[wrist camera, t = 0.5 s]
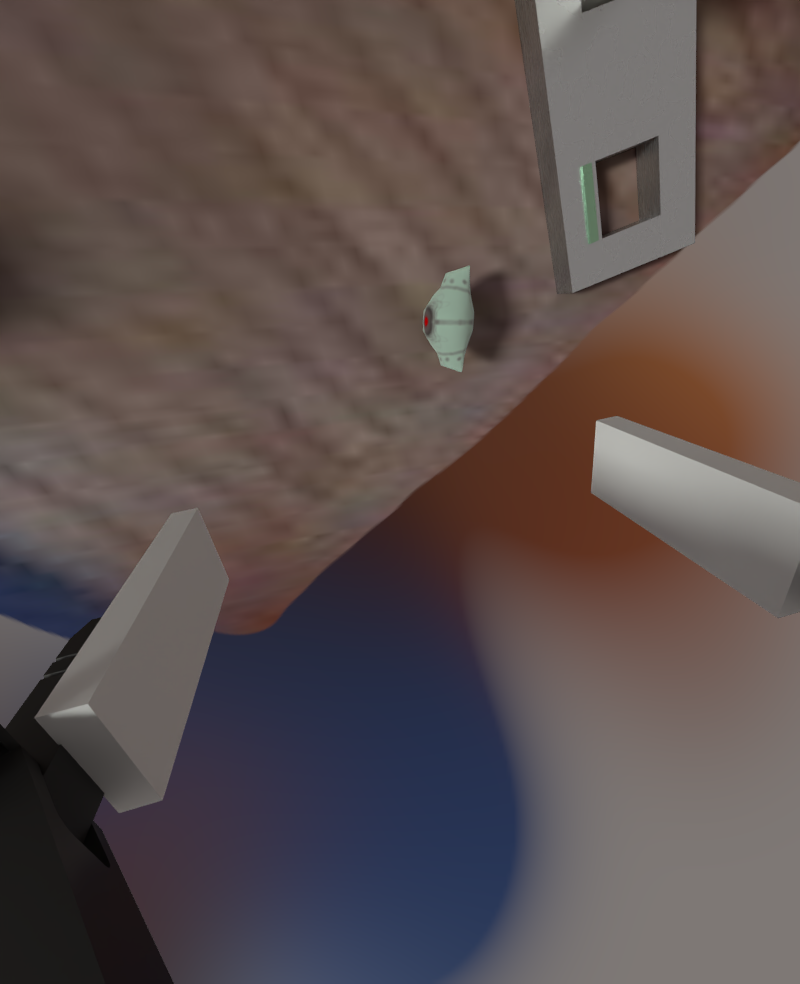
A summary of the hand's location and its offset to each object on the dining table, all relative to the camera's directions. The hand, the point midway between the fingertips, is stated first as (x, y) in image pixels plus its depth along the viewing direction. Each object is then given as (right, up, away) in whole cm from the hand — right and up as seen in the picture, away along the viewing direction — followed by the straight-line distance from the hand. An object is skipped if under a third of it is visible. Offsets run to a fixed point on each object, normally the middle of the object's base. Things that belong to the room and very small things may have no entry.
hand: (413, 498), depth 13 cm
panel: (+16, +32, +19) cm, 40 cm away
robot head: (+3, +16, +23) cm, 29 cm away
